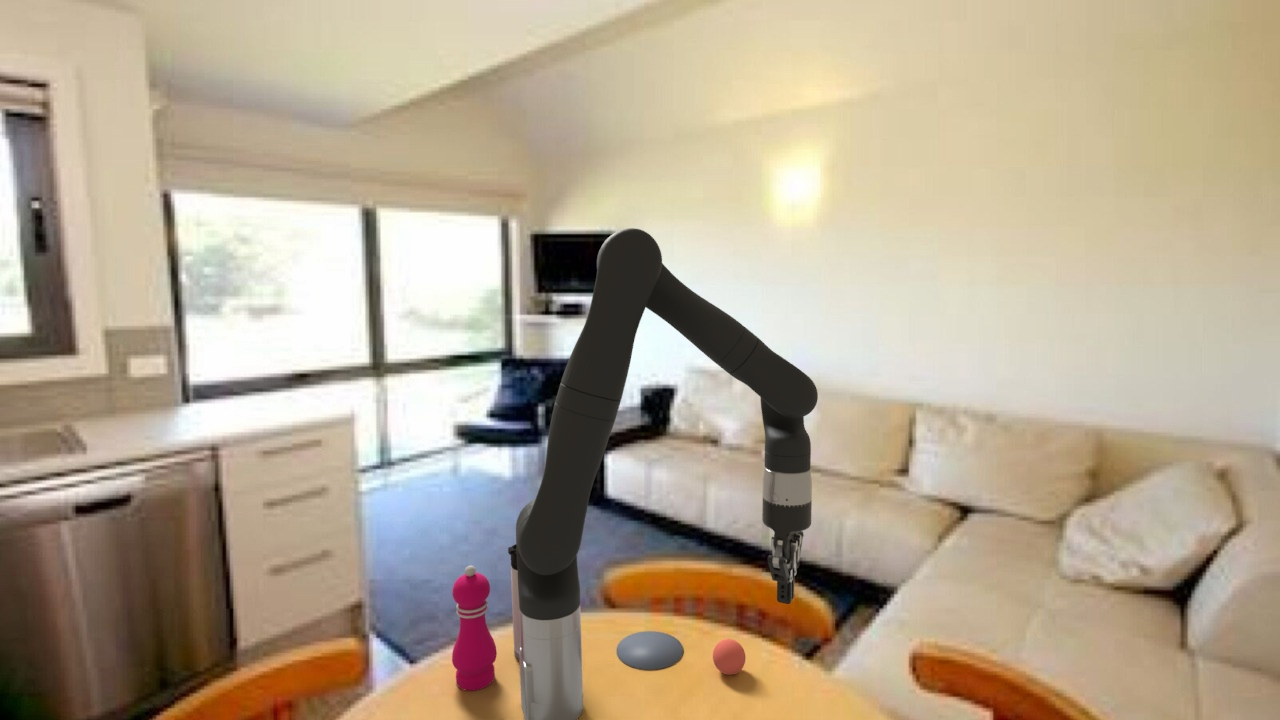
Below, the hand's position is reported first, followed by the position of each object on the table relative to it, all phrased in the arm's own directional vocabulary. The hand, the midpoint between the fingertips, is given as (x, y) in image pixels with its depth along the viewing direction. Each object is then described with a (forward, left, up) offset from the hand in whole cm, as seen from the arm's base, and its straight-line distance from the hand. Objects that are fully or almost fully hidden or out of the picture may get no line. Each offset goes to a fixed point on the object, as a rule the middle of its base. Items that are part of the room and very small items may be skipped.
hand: (785, 599), depth 104 cm
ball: (-7, +7, -12) cm, 16 cm away
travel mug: (-38, +24, -15) cm, 47 cm away
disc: (-17, +17, -15) cm, 29 cm away
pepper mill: (-48, +19, -15) cm, 53 cm away
